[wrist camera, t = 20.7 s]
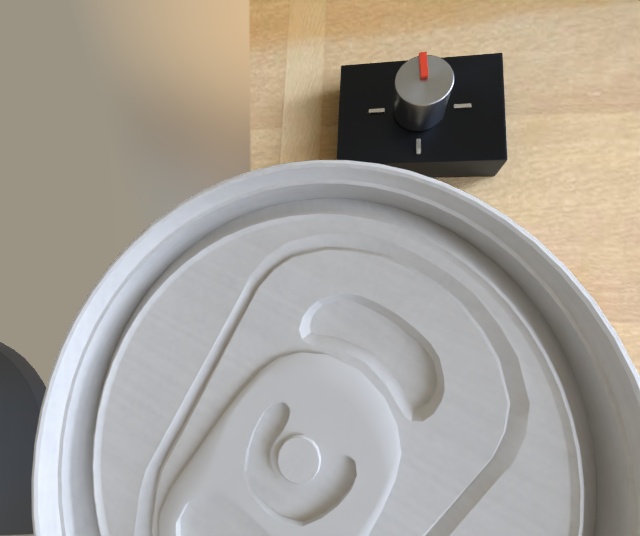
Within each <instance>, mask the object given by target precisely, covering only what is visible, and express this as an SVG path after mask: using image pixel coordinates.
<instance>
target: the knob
mask: <svg viewBox="0 0 640 536" xmlns="http://www.w3.org/2000/svg"><path fill="white" fill-rule="evenodd" d="M453 84H454V74H453V71H452V68H451V67H450V65H449V64H448V63H447V62H446V61H445V60H443V59H441V58H439V57H437V56H432V55H427V52H422V53H419V56H417V57H414V58H412V59H410V60H408V61H407V62H406V63H404V64H403V65H402V66H401V68H400V69H399V71H398V72H397V75H396V78H395V88H394V101H393V115H394V118H395V120H396V121H397V123H398V124H399V125H400V126H402V127H403V128H405V129H407V130H410V131H424V130H428V129H430V128H432V127H434V126H435V125H436V124H437V123H438V122H439V121H440V120H441V119H442V117H443V115H444V112H445V109H446V106H447V103H448V100H449V97H450V93H451V90H452V87H453Z"/></svg>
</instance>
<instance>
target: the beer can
mask: <svg viewBox="0 0 640 536" xmlns="http://www.w3.org/2000/svg"><path fill="white" fill-rule="evenodd" d="M32 522H33V533H34V536H640V376H639V374H638V372H637V370H636V369H635V367H634V365H633V363H632V361H631V359H630V357H629V355H628V353H627V351H626V350H625V348H624V346H623V344H622V342H621V340H620V338H619V336H618V335H617V333H616V332H615V330H614V329H613V327H612V326H611V324H610V323H609V321H608V320H607V318H606V317H605V315H604V314H603V312H602V311H601V309H600V308H599V306H598V305H597V303H596V302H595V300H594V299H593V298H592V297H591V295H590V294H589V293H588V292H587V291H586V290H585V288H584V287H583V286H582V285H581V284H580V282H579V281H578V280H577V279H576V278H575V277H574V275H573V274H572V273H571V272H570V271H569V269H568V268H567V267H566V266H565V265H564V264H563V263H562V262H561V261H560V260H558V259H557V258H556V257H555V256H554V255H553V254H552V253H551V252H550V251H549V250H548V249H547V248H546V247H545V246H544V245H543V244H542V243H541V242H540V241H539V240H537V239H536V238H535V237H533V236H532V235H531V234H530V233H528V232H527V231H526V230H524V229H523V228H522V227H520V226H519V225H518V224H517V223H515V222H514V221H513V220H511V219H510V218H509V217H507V216H506V215H504V214H503V213H501V212H499V211H498V210H496V209H494V208H493V207H491V206H489V205H488V204H486V203H484V202H483V201H481V200H480V199H478V198H476V197H474V196H472V195H470V194H468V193H466V192H464V191H461V190H459V189H457V188H455V187H453V186H451V185H449V184H447V183H444V182H442V181H439V180H436V179H433V178H430V177H427V176H424V175H421V174H418V173H416V172H413V171H409V170H405V169H400V168H396V167H391V166H387V165H382V164H377V163H368V162H359V161H350V160H311V161H302V162H292V163H284V164H279V165H275V166H270V167H266V168H261V169H256V170H253V171H250V172H248V173H244V174H241V175H238V176H235V177H232V178H229V179H227V180H224V181H222V182H220V183H218V184H215V185H213V186H211V187H209V188H207V189H205V190H202V191H200V192H199V193H197V194H195V195H193V196H192V197H190V198H188V199H187V200H185V201H183V202H182V203H180V204H178V205H176V206H175V207H174V208H172V209H171V210H169V211H168V212H167V213H165V214H164V215H163V216H161V217H160V218H159V219H157V220H156V221H154V222H153V223H152V224H151V225H150V226H148V227H147V228H146V229H145V230H144V231H143V232H142V233H141V234H140V235H138V236H137V237H136V238H135V239H134V240H133V241H132V242H131V243H130V244H129V245H128V246H127V247H126V248H125V249H124V250H123V251H122V252H121V253H120V255H119V256H118V257H117V258H116V259H115V260H114V261H113V262H112V263H111V264H110V266H109V267H108V268H107V269H106V271H105V272H104V274H103V275H102V276H101V278H100V279H99V280H98V282H97V283H96V284H95V286H94V287H93V288H92V290H91V291H90V293H89V295H88V296H87V298H86V299H85V301H84V303H83V304H82V306H81V308H80V309H79V311H78V313H77V314H76V316H75V318H74V320H73V322H72V324H71V326H70V328H69V330H68V332H67V334H66V336H65V339H64V341H63V343H62V345H61V347H60V349H59V353H58V355H57V358H56V360H55V363H54V366H53V368H52V371H51V374H50V376H49V380H48V383H47V387H46V391H45V395H44V398H43V402H42V406H41V409H40V415H39V421H38V426H37V432H36V438H35V443H34V455H33V467H32Z"/></svg>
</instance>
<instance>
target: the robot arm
mask: <svg viewBox="0 0 640 536" xmlns="http://www.w3.org/2000/svg"><path fill="white" fill-rule="evenodd" d="M0 536H34V534H24V535H0Z"/></svg>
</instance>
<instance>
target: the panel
mask: <svg viewBox="0 0 640 536" xmlns="http://www.w3.org/2000/svg"><path fill="white" fill-rule="evenodd" d="M441 59H443V60H445V61H446V62H447V63H448V64H449V65H450V67H451V68H452V71H453V74H454V84H453V87H452V90H451V93H450V97H449V100H448V103H447V106H446V109H445V112H444V115H443V117H442V119H441V120H440V121H439V122H438V123H437V124H436V125H435V126H434V127H432V128H430V129H428V130H424V131H410V130H407V129H405V128H403V127H402V126H400V125H399V124H398V123H397V121H396V120H395V118H394V115H393V101H394V88H395V78H396V75H397V72H398V71H399V69H400V68H401V66H402V65H403V64H404V63H406V62H407V61H408V60H407V61H395V62H382V63H370V64H357V65H345V66H341V81H340V102H339V122H338V142H337V160H350V161H359V162H368V163H377V164H382V165H387V166H391V167H396V168H400V169H405V170H409V171H413V172H416V173H418V174H421V175H424V176H427V177H475V176H495V175H496V174H497V172H498V171H499V170H500V168H501V167H502V166H503V165H504V163H505V162H506V161H507V142H506V121H505V100H504V79H503V58H502V53H495V54H483V55H470V56H458V57H445V58H441Z"/></svg>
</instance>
